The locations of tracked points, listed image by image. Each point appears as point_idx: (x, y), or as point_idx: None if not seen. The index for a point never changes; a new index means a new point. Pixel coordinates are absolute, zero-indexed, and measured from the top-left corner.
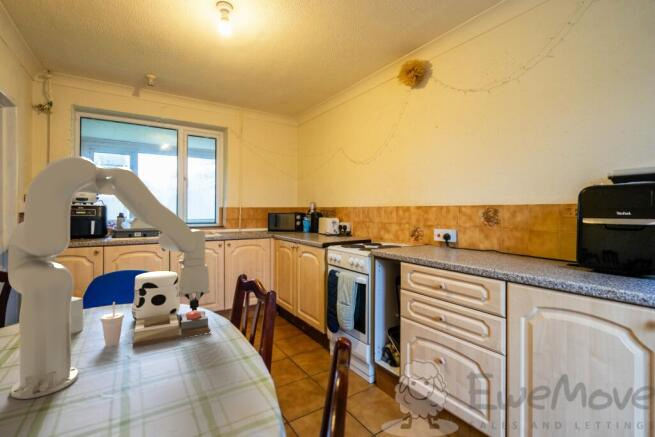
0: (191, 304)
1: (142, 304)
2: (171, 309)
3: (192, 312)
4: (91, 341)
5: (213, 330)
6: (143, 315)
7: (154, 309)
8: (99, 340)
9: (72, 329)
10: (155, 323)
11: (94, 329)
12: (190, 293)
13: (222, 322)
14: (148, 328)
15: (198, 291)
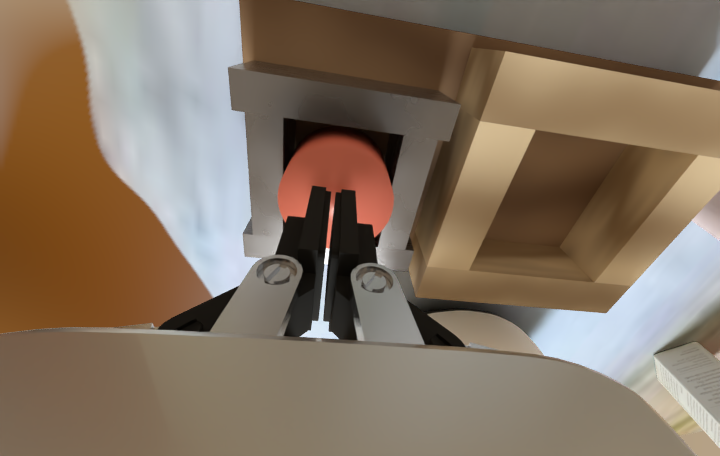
0: (361, 244)
1: None
2: None
3: None
4: (715, 259)
5: (221, 49)
6: (534, 346)
7: None
8: (695, 254)
9: (706, 356)
10: (523, 256)
11: (631, 345)
12: (424, 345)
13: (155, 159)
14: (698, 118)
15: (230, 350)
